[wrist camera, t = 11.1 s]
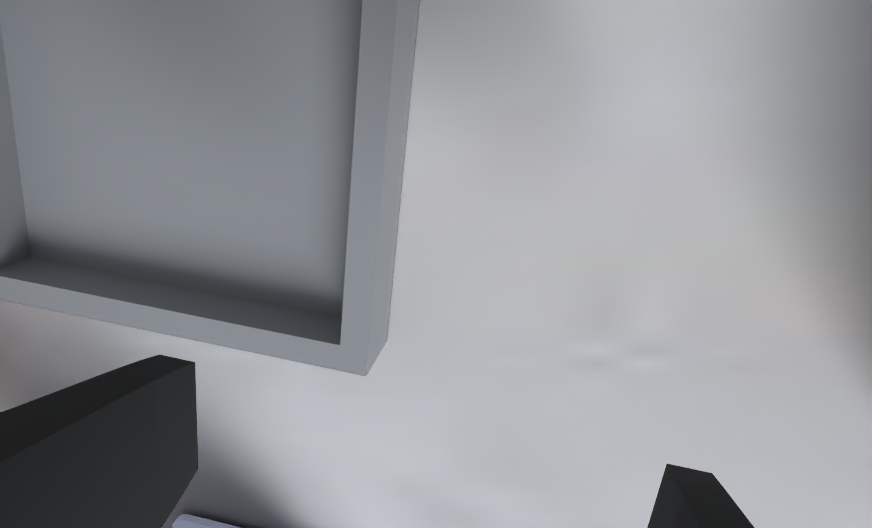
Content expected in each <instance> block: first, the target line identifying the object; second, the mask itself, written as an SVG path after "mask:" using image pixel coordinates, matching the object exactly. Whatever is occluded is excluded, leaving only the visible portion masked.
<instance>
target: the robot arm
mask: <svg viewBox="0 0 872 528" xmlns="http://www.w3.org/2000/svg"><path fill="white" fill-rule="evenodd" d="M197 469H198V448H197V414H196V381H195V362H191V361H186V360H182V359H177V358H172V357H168V356H163V355H157V356H154V357H150V358H147V359H144V360H140V361H137V362H134V363H132V364H129V365H126V366H123V367H120V368H118V369H115V370H112V371H110V372H107V373H104V374H102V375H99V376H96V377H94V378H91V379H88V380H86V381H83V382H81V383H78V384H75V385H73V386H70V387H68V388H65V389H62V390H60V391H57V392H54V393H52V394H49V395H46V396H44V397H41V398H39V399H36V400H33V401H31V402H28V403H25V404H23V405H20V406H17V407H15V408H12V409H9V410H6V411H3V412H1V413H0V528H161V527H162V526H163V524H164V523H165V521H166V520H167V518H168V516H169V515H170V513H171V512H172V510H173V509H174V507H175V506H176V504H177V502H178V501H179V499H180V498H181V496H182V494H183V493H184V491H185V489H186V488H187V486H188V484H189V483H190V481H191V479H192V478H193V476H194V474H195V473H196V471H197ZM172 528H241V527H237V526H233V525H229V524H225V523H221V522H217V521H213V520H209V519H205V518H201V517H197V516H193V515H189V514H182V515H180V516H179V517H178V518H177V519H176V520H175V522H174V523H173V525H172ZM648 528H754V527H753V525H752V524H751V523H750V522H749V520H748V519H747V518H746V516H745V515H744V514H743V512H742V511H741V510H740V508H739V507H738V506H737V505H736V503H735V502H734V501H733V499H732V498H731V497H730V495H729V494H728V493H727V492H726V490H725V489H724V488H723V486H722V485H721V484H720V483H719V481H718V480H717V479H716V478H715V476H714V475H713V474H712V473H708V472H703V471H698V470H694V469H689V468H684V467H680V466H675V465H671V464H667V465H666V468H665V472H664V475H663V478H662V482H661V485H660V488H659V492H658V495H657V498H656V501H655V505H654V508H653V511H652V515H651V518H650V521H649V525H648Z"/></svg>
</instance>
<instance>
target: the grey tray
mask: <svg viewBox="0 0 872 528" xmlns="http://www.w3.org/2000/svg"><path fill="white" fill-rule="evenodd" d="M419 2H420V0H0V300H4V301H9V302H14V303H19V304H24V305H28V306H33V307H38V308H43V309H47V310H52V311H57V312H62V313H67V314H71V315H76V316H81V317H86V318H90V319H95V320H100V321H105V322H110V323H114V324H119V325H124V326H129V327H133V328H138V329H143V330H148V331H153V332H157V333H162V334H167V335H172V336H176V337H181V338H186V339H191V340H195V341H200V342H205V343H210V344H215V345H219V346H224V347H229V348H234V349H238V350H243V351H248V352H253V353H258V354H262V355H267V356H272V357H277V358H281V359H286V360H291V361H296V362H301V363H305V364H310V365H315V366H320V367H324V368H329V369H334V370H339V371H343V372H348V373H353V374H358V375H363V376H366V375H367V374H368V372H369V370H370V368H371V367H372V365H373V363H374V362H375V360H376V358H377V357H378V355H379V353H380V351H381V350H382V348H383V346H384V345H385V343H386V341H387V336H388V325H389V315H390V304H391V294H392V284H393V273H394V263H395V252H396V242H397V231H398V221H399V211H400V200H401V190H402V179H403V169H404V158H405V148H406V138H407V127H408V117H409V106H410V96H411V85H412V75H413V64H414V54H415V44H416V33H417V23H418V12H419Z"/></svg>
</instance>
